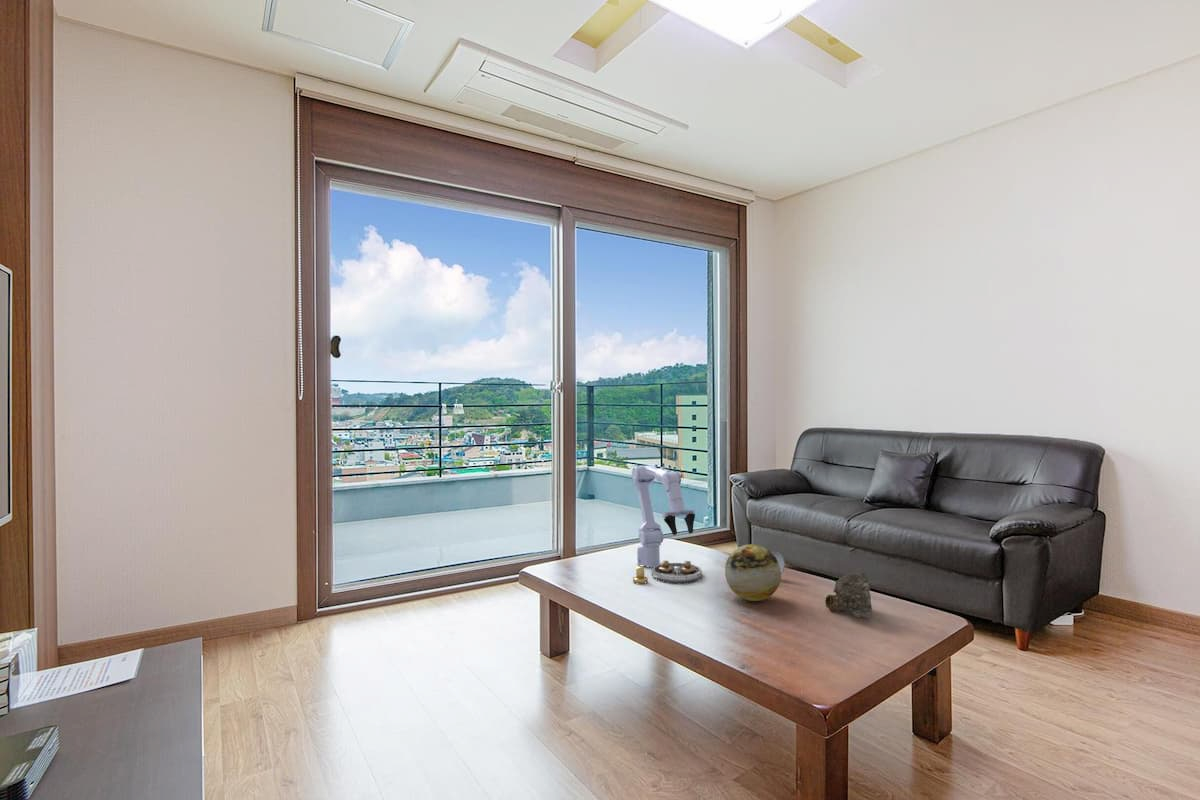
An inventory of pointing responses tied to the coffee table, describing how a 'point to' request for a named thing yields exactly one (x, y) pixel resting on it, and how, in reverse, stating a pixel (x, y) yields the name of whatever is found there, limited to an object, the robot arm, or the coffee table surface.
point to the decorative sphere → (753, 572)
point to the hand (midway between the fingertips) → (683, 533)
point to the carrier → (677, 572)
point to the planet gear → (640, 575)
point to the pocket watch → (779, 560)
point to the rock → (851, 596)
